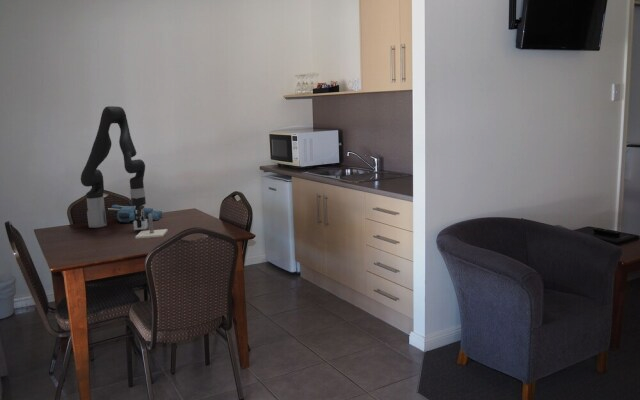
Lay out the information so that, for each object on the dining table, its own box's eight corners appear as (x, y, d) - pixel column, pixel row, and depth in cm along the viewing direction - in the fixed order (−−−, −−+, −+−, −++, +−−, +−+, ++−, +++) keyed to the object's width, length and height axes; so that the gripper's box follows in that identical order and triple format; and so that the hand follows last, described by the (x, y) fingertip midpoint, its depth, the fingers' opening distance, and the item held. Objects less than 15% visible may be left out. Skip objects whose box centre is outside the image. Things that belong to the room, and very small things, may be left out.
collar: (134, 229, 309) (133, 221, 308) (136, 227, 314) (136, 219, 314) (145, 229, 309) (144, 221, 308) (147, 226, 315) (147, 218, 314)
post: (135, 238, 293) (133, 217, 291) (141, 232, 307) (139, 212, 305) (162, 236, 294) (160, 215, 292) (167, 230, 308) (165, 211, 306)
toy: (156, 211, 333) (104, 207, 331) (155, 226, 334) (103, 222, 332) (164, 205, 355) (115, 201, 353) (163, 219, 356) (115, 215, 354)
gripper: (134, 194, 315) (137, 224, 318) (127, 198, 301) (130, 229, 304) (147, 193, 316) (150, 223, 319) (141, 198, 302) (144, 228, 305)
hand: (140, 226), depth 312 cm, fingers closed on collar, 6 cm apart
